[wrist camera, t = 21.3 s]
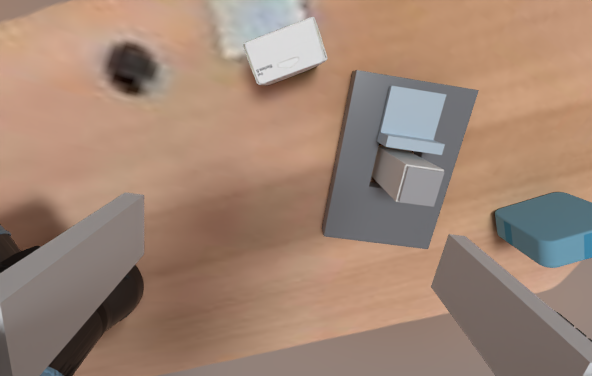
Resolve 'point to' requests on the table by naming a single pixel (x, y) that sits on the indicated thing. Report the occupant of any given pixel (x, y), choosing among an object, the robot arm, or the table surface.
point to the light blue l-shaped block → (411, 120)
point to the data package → (549, 228)
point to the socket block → (361, 157)
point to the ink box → (285, 52)
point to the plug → (407, 176)
